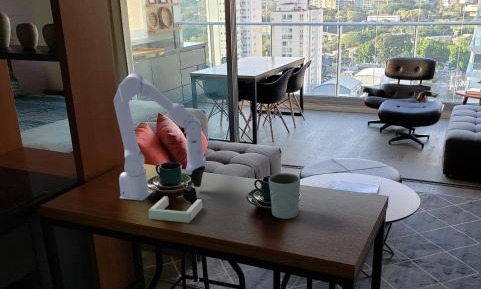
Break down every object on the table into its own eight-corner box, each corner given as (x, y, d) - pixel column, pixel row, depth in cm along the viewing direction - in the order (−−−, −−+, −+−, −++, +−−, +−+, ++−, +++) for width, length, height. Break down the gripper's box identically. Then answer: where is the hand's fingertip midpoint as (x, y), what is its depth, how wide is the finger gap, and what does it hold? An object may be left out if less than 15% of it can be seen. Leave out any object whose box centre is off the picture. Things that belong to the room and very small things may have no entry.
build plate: (171, 198, 168) (170, 186, 167) (187, 192, 173) (186, 181, 172) (193, 208, 160) (192, 195, 158) (209, 201, 164) (208, 189, 163)
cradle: (149, 218, 152) (148, 210, 151) (164, 204, 162) (164, 196, 161) (189, 222, 148) (188, 214, 147) (202, 207, 158) (201, 199, 157)
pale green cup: (281, 222, 145) (281, 186, 142) (263, 211, 153) (262, 177, 150) (307, 213, 150) (306, 179, 147) (287, 203, 158) (287, 170, 155)
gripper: (197, 158, 160) (200, 194, 164) (212, 145, 173) (214, 179, 177) (178, 156, 162) (181, 193, 166) (194, 144, 175) (197, 178, 179)
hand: (197, 186), depth 172 cm, fingers closed
